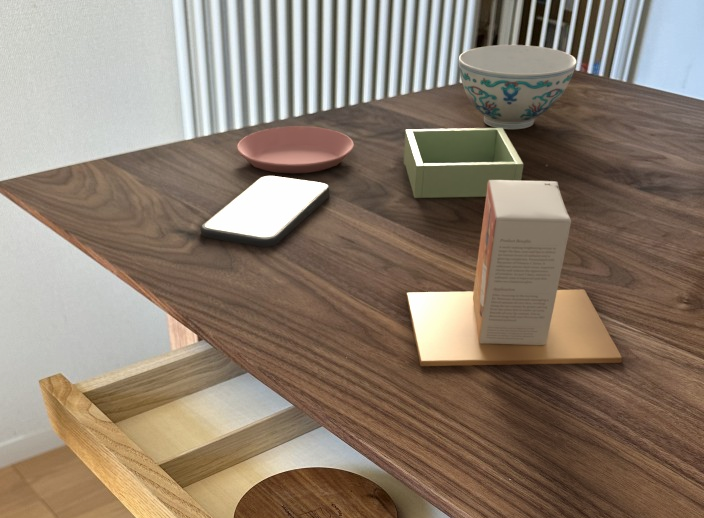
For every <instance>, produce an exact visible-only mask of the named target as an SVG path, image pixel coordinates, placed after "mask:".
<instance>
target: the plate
mask: <svg viewBox="0 0 704 518" xmlns="http://www.w3.org/2000/svg"><path fill="white" fill-rule="evenodd" d="M354 145H355V144H354V141H353V140H352V138H351V137H350V136H348V135H347V134H345V133H343V132H340V131H337V130H333V129H329V128H324V127H318V126H317V127H316V126H305V125H304V126H303V125H301V126H300V125H299V126H297V125H294V126H279V127H272V128H267V129H262V130H259V131H255V132H252V133H250V134H248V135H246V136H244V137H243V138H241V139H240V140H239V141H238V143H237V146H236V150H237V152H238V153H239V155H240V156H242V158H244V159H245V161H247V162H248V163H250V164H251V165H252V166H253V167H254V168H255V169H256V168H258V169H259V170H263V171H267V172H272V173H277V174H307V173H316V172H319V171H320V172H321V171H324V170H328V169H331V168H334V167H337V166H338V165H339V164H340V163H341V162H342V161H343V160H344V159H345V158H346V157H348V156H349V154H351V152H352V151H353V150H354V147H355V146H354Z"/></svg>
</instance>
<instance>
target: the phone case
mask: <svg viewBox="0 0 704 518" xmlns="http://www.w3.org/2000/svg"><path fill="white" fill-rule="evenodd" d="M330 194H331V193H330V186H329V185H328V184H327V183H324V182H320V181H319V182H318V181H313V180H305V179H299V178H298V179H297V178H290V177H282V176H275V175H265V176H261V177H259V178H258V179H257V180H255V181H254V182H253V183H252V184H251V185H250V186H248V187H247V188H246V189H245V190H243V191H242V192H241V193H239V194H238V195H237V196H236V197H235V198H233V199H232V200H231V201H230V202H228V203H227V204H226V205H225V206H223V207H222V208H221V209H220V210H219V211H218V212H216V213H215V214H214V215H212V216H211V217H210V218H209V219H207V220H206V221H205V222H204V223H203V224H202V225H201V226H200V234H201V236H202V237H204V238H208V239H214V240H220V241H225V242H231V243H237V244H243V245H249V246H255V247H259V248H260V247H261V248H269V247H274V246H277V245H278V244H279V243H280V242H281V241H283V239H285V238H286V237H287V236H288V235H289V234H290V233H291V232H292V231H294V230H295V229H296V228H297V227H298V226H299V225H300V224H301V223H302V222H303V221H304V220H305V219H307V218H308V217H309V216H311V214H313V213H314V212H315V210H316V209H318V208H319V207H320V206H321V205H322V204H323V203H324V202H326V200H328V199H329V198H330Z"/></svg>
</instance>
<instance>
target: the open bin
mask: <svg viewBox="0 0 704 518" xmlns="http://www.w3.org/2000/svg"><path fill="white" fill-rule="evenodd" d="M403 149H404V150H403V166H405V169H406V172H407V177H408V180H409V183H410V187H411V190H412V195H413V197H414V199H420V198H422V199H423V198H424V199H427V198H428V199H429V198H477V197H478V198H483V197H485V198H486V194H487V185H488V181H489V180H518V181H522V177H523V170H524V162H523V160H522V159H521V157H520V155H519V154H518V151H517V150H516V148H515V146H514V145H513V143H512V141H511V140H510V138H509V137H508V135H507V132H506V131H505V129H503V128H495V127H474V128H473V127H472V128H471V127H469V128H421V129H420V128H419V129H416V128H415V129H409V128H408V129H405V132H404V148H403Z"/></svg>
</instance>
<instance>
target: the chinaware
mask: <svg viewBox="0 0 704 518" xmlns="http://www.w3.org/2000/svg"><path fill="white" fill-rule="evenodd" d="M577 61H578V60H577V59H576V57H575V56H573V55H571V54H570V53H567V52H565V51H562V50H559V49H555V48H550V47H545V46H538V45H537V46H536V45H527V44H525V45H523V44H497V45H496V44H495V45H487V46H481V47H475V48H471V49H468V50H466V51H463V52H462V53H461V54H460V55H459V57H458V68H459V75H460V81H461V84H462V87H463V90H464V93H465V95H466V97H467V98H468V100H469V101H470V103H471V104H472V106H473V107H474V108H475V109H476V110H477V112H479V113H480V114H482V115H483V122H484V124H486V125H487V126H489V127H490V128H503V129H504V130H523V129H527V128H530V127H532V126H533V125H534V123H535V119H536V118H537V117H539V116H540V115H542V114H544V113H546V112H547V111H548V110H549V109H551V108H552V107H553V106H554V105H555V104H556V102H558V100H559V99H560V98H561V97H562V95H563V94H564V92H565V91H566V89H567V87H568V86H569V83H570V81H571V79H572V78H573V75H574V72H575V70H576V67H577Z"/></svg>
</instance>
